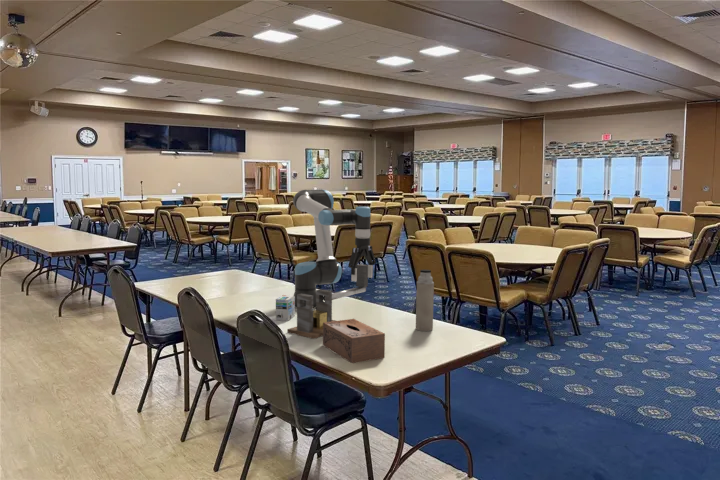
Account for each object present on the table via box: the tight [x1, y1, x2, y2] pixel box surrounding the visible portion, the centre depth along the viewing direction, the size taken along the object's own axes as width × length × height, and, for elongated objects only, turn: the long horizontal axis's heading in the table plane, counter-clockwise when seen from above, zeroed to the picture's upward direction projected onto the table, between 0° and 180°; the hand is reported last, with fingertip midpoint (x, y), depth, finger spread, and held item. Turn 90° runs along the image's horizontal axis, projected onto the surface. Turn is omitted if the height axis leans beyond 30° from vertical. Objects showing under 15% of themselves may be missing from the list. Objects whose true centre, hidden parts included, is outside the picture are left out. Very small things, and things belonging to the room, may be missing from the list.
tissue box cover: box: [322, 318, 386, 364], centre depth 224 cm, size 26×14×10 cm, turn 29°
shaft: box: [323, 263, 369, 302], centre depth 270 cm, size 30×5×14 cm, turn 143°
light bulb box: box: [275, 294, 296, 322], centre depth 276 cm, size 11×7×11 cm, turn 168°
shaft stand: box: [287, 288, 336, 339], centre depth 256 cm, size 26×16×18 cm, turn 143°
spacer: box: [313, 309, 327, 329], centre depth 255 cm, size 5×7×7 cm
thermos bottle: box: [415, 269, 435, 332], centre depth 258 cm, size 8×8×28 cm
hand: (362, 279), depth 280 cm, fingers open, 13 cm apart
